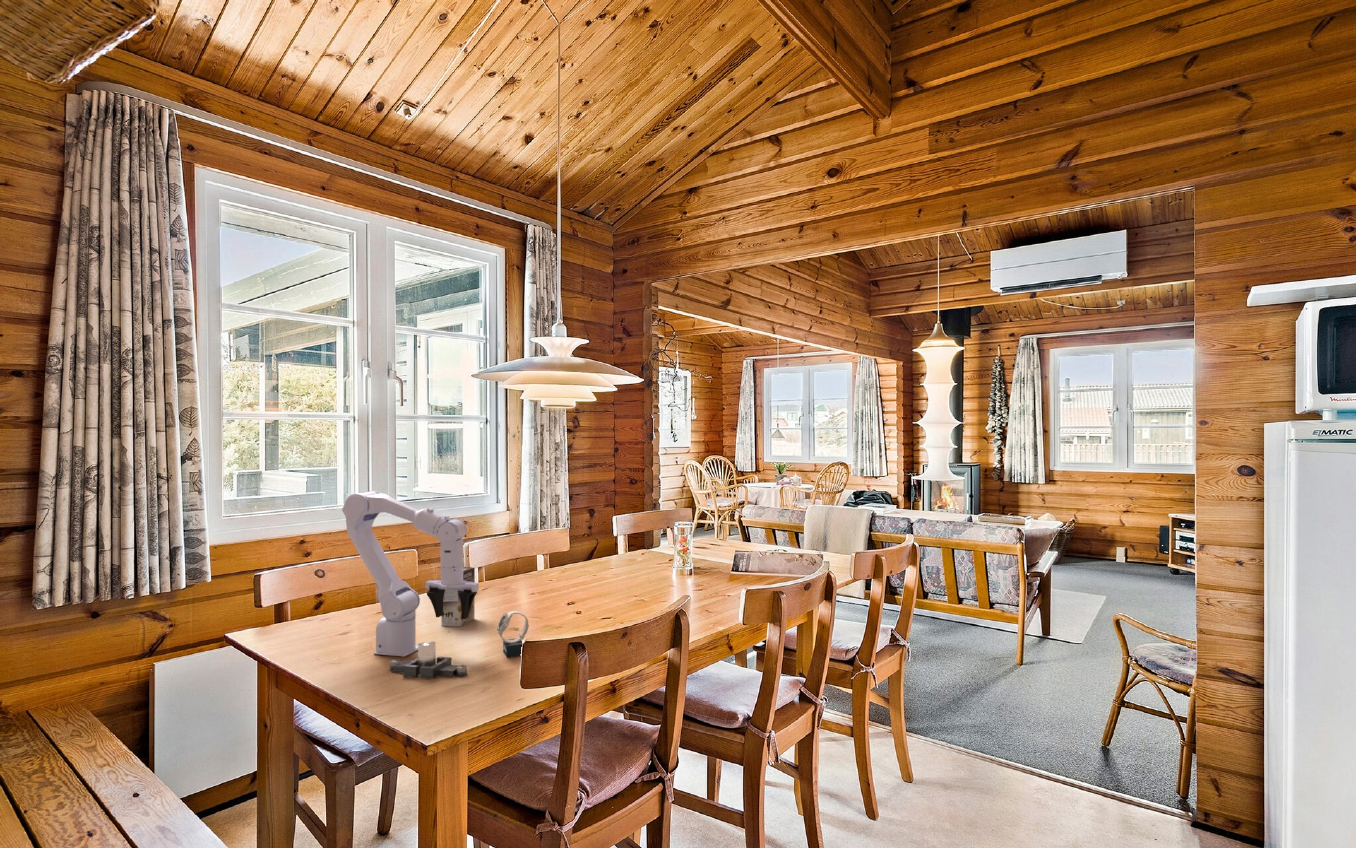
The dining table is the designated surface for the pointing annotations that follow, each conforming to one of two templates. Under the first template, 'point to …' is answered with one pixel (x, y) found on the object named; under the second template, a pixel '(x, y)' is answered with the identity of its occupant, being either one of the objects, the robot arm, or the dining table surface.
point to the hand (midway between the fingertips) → (452, 617)
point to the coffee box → (457, 603)
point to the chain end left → (405, 667)
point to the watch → (511, 645)
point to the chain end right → (443, 669)
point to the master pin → (426, 654)
